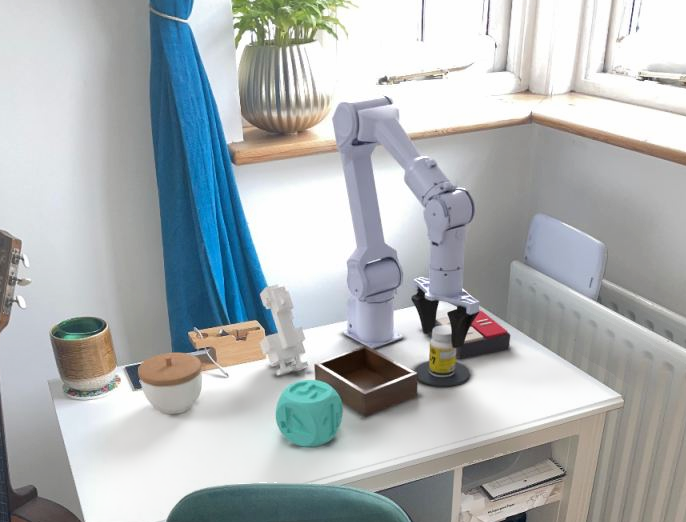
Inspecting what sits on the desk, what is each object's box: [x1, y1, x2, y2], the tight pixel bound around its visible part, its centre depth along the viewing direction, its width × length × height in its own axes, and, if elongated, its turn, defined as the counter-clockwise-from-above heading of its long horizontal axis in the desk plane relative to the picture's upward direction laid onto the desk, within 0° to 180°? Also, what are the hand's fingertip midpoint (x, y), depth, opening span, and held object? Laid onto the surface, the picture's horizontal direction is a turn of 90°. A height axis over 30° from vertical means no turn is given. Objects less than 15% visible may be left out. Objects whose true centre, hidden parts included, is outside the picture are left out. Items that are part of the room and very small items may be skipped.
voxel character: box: [259, 283, 309, 376], centre depth 147 cm, size 7×12×15 cm
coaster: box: [413, 360, 471, 388], centre depth 146 cm, size 10×10×1 cm
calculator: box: [427, 306, 511, 360], centre depth 157 cm, size 11×4×15 cm
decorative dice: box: [275, 379, 344, 448], centre depth 128 cm, size 8×8×8 cm
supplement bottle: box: [428, 325, 457, 377], centre depth 143 cm, size 5×5×8 cm
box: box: [314, 345, 419, 418], centre depth 141 cm, size 15×12×4 cm
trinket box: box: [137, 352, 203, 415], centre depth 138 cm, size 11×11×9 cm
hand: (442, 339), depth 142 cm, fingers open, 7 cm apart
